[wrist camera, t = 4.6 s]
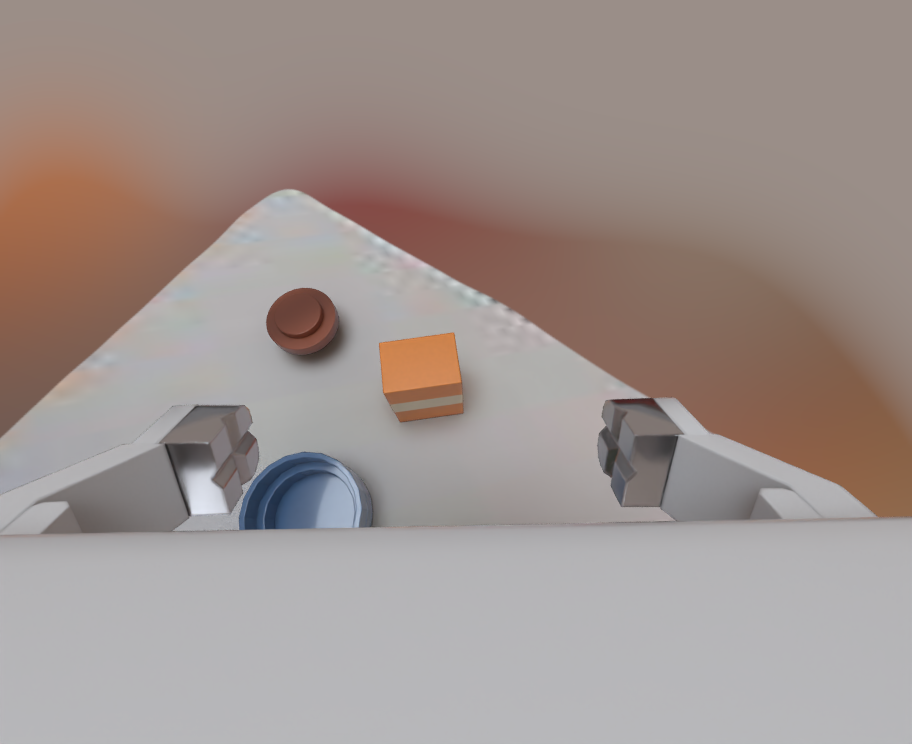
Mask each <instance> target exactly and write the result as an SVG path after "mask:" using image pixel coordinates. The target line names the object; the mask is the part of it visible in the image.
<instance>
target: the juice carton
mask: <svg viewBox="0 0 912 744" xmlns="http://www.w3.org/2000/svg"><path fill="white" fill-rule="evenodd" d="M379 348H380V360H381V372H382V383H383V393H384V395H385V397H386V398H387V400H388V402H389V404H390V406H391V408H392V410H393V411H394V413H395V414H396V416H397V418H398V419H399V421H400V422H405V421H412V420H419V419H426V418H433V417H440V416H447V415H454V414H461V413H463V393H462V381H461V374H460V368H459V361H458V355H457V348H456V341H455V335H454V333H447V334H440V335H433V336H426V337H418V338H411V339H404V340H397V341H390V342H383V343H379Z"/></svg>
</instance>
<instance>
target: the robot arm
mask: <svg viewBox="0 0 912 744" xmlns="http://www.w3.org/2000/svg"><path fill="white" fill-rule="evenodd" d="M602 418H603V420H604V422H605V423H606V426H605V427H604V429H603V430H602V431H601V432H600V433H599V437H598V445H597V446H598V458H599V462H600V466H601V468H602V470H603V472H604V473H605V474H606V475H608V476H610V477H611V478H612V480H611V488H612V490H613V492H614V494H615V496H616V498H617V500H618V502H619V504H620V505H621V507H661V508H660V509H662V510H663V511H664V512H666V513H667V514H668V515H669V516H671V517H672V518H673V519H675V520H676V521H657V522H608V523H559V524H510V525H461V526H412V527H362V528H313V529H263V530H213V531H173V530H174V529H175V528H177V527H178V526H179V525H181V524H182V523H183V522H185V521H186V520H187V519H189V516H204V515H225V514H231V512H232V511H233V509H234V507H235V506H236V504H237V502H238V501H239V499H240V498H241V496H242V494H243V490H242V486H241V485H243V484H245V483H246V482H248V481H250V480H251V479H252V477H253V476H254V474H255V472H256V470H257V465H258V460H259V448H258V443H257V439H256V438H255V437H254V436H253V435H252V434H251V433H250V432H249V431H248V429H249V428H250V426H251V424H252V423H253V422H252V418H251V414H250V411H249V409H248V408H247V407H246V406H245V405H198V404H197V405H177V406H172V407H171V408H170V409H169V410H168V411H167V412H166V413H165V414H163V415H162V416H161V417H160V418H159V419H158V420H157V421H156V422H155V423H154V424H152V425H151V426H150V427H149V428H148V429H147V430H146V431H145V432H144V433H143V434H141V435H140V436H139V437H138V438H137V439H136V440H135V441H134V442H133V443H131V444H123V445H120V446H118V447H115V448H113V449H110V450H108V451H105V452H103V453H101V454H98V455H96V456H93V457H91V458H88V459H86V460H83V461H81V462H79V463H76V464H74V465H71V466H69V467H66V468H64V469H62V470H59V471H57V472H54V473H52V474H49V475H47V476H44V477H42V478H40V479H37V480H35V481H32V482H30V483H27V484H25V485H22V486H20V487H18V488H15V489H13V490H10V491H8V492H5V493H3V494H0V744H912V516H911V517H877V516H876V515H875V514H874V513H873V512H871V511H870V510H869V509H868V508H867V507H866V506H864V505H863V504H862V503H861V502H860V501H858V500H857V499H856V498H855V497H853V496H852V495H851V494H850V493H849V492H848V491H846V490H845V489H844V488H843V487H842V486H840V485H838V484H835V483H833V482H831V481H828V480H826V479H824V478H821V477H819V476H816V475H814V474H812V473H809V472H807V471H804V470H802V469H800V468H797V467H795V466H792V465H790V464H787V463H785V462H783V461H780V460H778V459H776V458H773V457H771V456H769V455H766V454H764V453H761V452H759V451H756V450H754V449H752V448H749V447H747V446H745V445H742V444H739V443H737V442H735V441H733V440H730V439H728V438H725V437H723V436H721V435H718V434H710V433H709V432H708V431H707V430H706V429H705V428H704V427H703V426H702V425H701V424H700V423H699V422H698V421H697V420H696V419H695V418H694V417H693V416H692V415H691V414H690V413H689V412H688V410H687V409H686V408H685V407H684V406H683V405H682V404H681V403H680V402H679V401H678V400H677V399H675V398H672V397H667V398H640V399H615V400H606V401H605V404H604V406H603V411H602Z"/></svg>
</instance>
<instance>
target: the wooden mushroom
mask: <svg viewBox="0 0 912 744" xmlns="http://www.w3.org/2000/svg"><path fill="white" fill-rule="evenodd" d="M338 325H339V316H338V312H337V310H336V308H335V306H334V304H333V303H332V301H331V300H330V298H329V297H328V296H327V295H326V294H324V293H323V292H321V291H319V290H316V289H312V288H299V289H295V290H292V291H289V292H287V293H285V294H284V295H282V296H281V297H279V298H278V299H277V300H276V301H275V302H274V304H273V305H272V306H271V308H270V310H269V312H268V315H267V320H266V326H267V331H268V333H269V335H270V337H271V339H272V340H273V341H274V342H275V343H276V344H277V345H278V346H279V347H280V348H281V349H283V350H284V351H286V352H288V353H291V354H296V355H306V354H311V353H314V352H317V351H319V350H321V349H322V348H324V347H325V346H326V345H327V344H329V342H330V341H331V340H332V339H333V337H334V336H335V334H336V332H337V329H338Z"/></svg>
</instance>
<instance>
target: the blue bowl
mask: <svg viewBox="0 0 912 744" xmlns="http://www.w3.org/2000/svg"><path fill="white" fill-rule="evenodd" d="M372 512H373V509H372V503H371V496H370V493H369V491H368V490H367V488H366V486H365V484H364V482H363V480H362V479H361V478H360V477H359V476H358V475H357V474H356V473H355V472H354V471H353V470H352V469H350V468H349V467H347V466H345V465H344V464H342V463H341V462H339V461H338V460H336V459H333V458H331V457H329V456H327V455H324V454H321V453H311V452H301V453H297V454H292V455H288V456H285V457H283V458H281V459H279V460H278V461H276V462H274V463H272V464H271V465H269V466H268V467H267V468H266V469H265V470H264V471H263V472H262V473H261V474H260V475H259V476H258V477H257V478H256V479H255V480H254V481H253V483H252V484H251V486H250V488H249V490H248V491H247V493H246V495H245V497H244V499H243V503H242V507H241V511H240V515H239V530H263V529H313V528H362V527H371V522H372V516H373V513H372Z"/></svg>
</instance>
